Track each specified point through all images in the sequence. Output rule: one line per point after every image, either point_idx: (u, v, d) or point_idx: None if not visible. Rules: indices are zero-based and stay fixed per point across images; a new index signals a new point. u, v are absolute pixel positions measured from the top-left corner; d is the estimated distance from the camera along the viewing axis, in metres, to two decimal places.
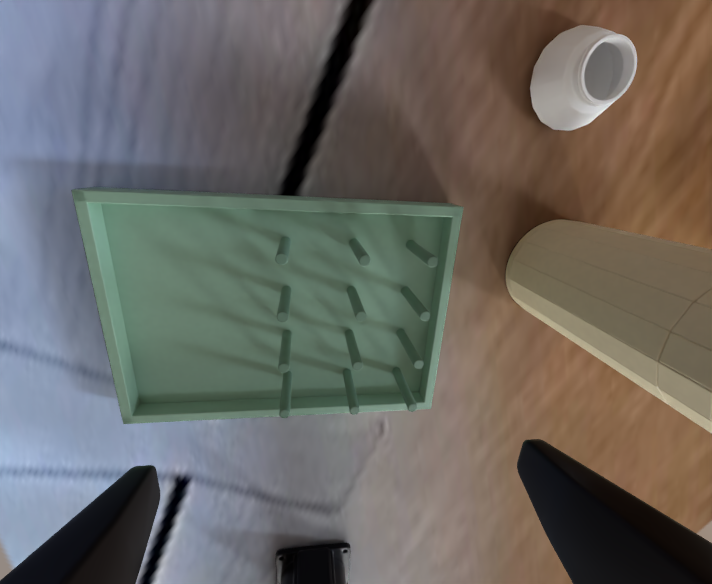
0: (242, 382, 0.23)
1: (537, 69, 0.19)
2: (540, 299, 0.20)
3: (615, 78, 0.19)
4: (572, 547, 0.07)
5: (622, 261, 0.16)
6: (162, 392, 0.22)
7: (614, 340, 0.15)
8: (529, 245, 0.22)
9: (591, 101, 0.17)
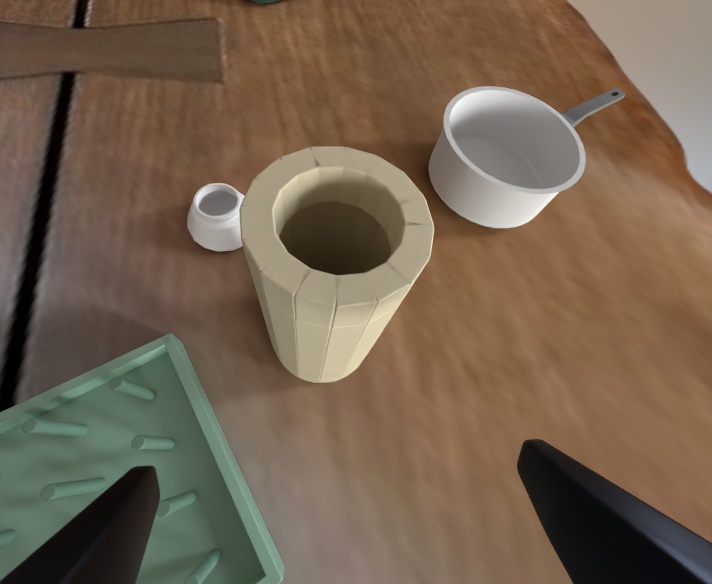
0: None
1: (188, 229, 0.24)
2: (282, 354, 0.19)
3: None
4: (572, 547, 0.07)
5: None
6: None
7: (273, 320, 0.14)
8: None
9: (218, 218, 0.23)
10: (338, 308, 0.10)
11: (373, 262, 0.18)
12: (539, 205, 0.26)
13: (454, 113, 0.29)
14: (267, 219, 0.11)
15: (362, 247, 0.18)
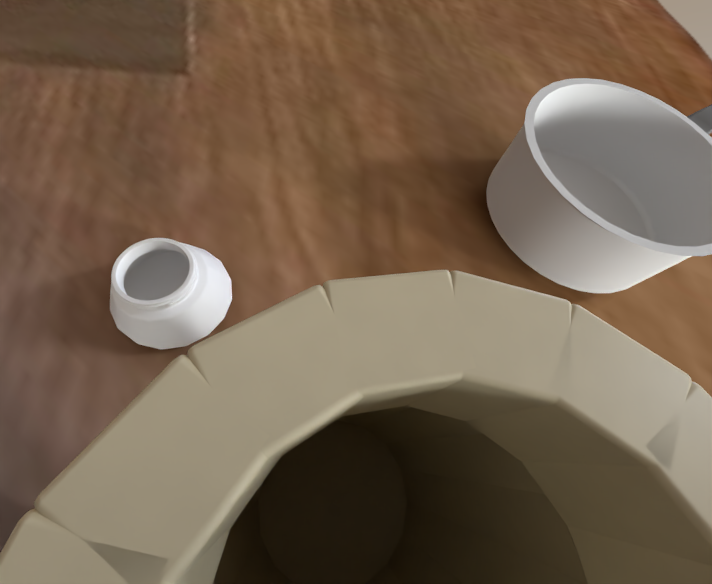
0: None
1: (111, 312, 0.15)
2: None
3: None
4: None
5: None
6: None
7: None
8: None
9: (154, 304, 0.13)
10: None
11: (453, 451, 0.08)
12: (673, 264, 0.17)
13: None
14: None
15: (431, 423, 0.08)
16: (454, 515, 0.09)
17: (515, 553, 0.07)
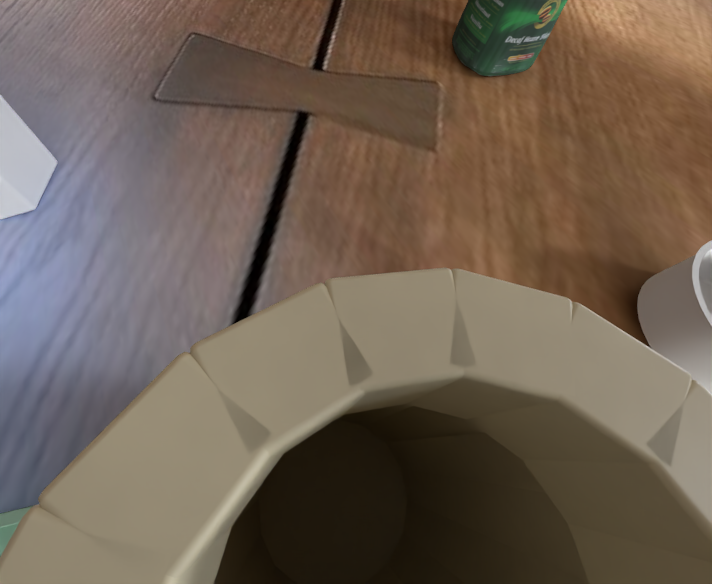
0: None
1: None
2: None
3: None
4: None
5: None
6: None
7: None
8: None
9: None
10: None
11: (453, 450, 0.08)
12: None
13: None
14: None
15: (432, 422, 0.08)
16: (454, 514, 0.09)
17: (516, 552, 0.07)
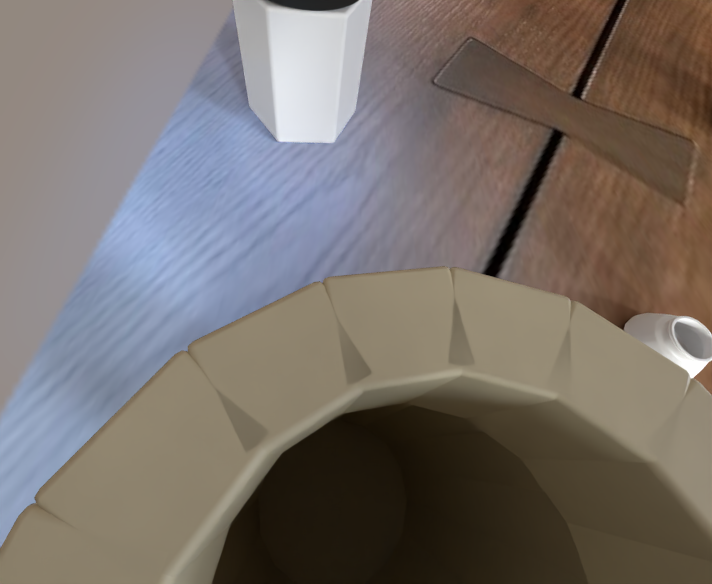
0: None
1: None
2: None
3: (691, 350, 0.24)
4: None
5: None
6: None
7: None
8: None
9: (691, 358, 0.21)
10: None
11: (453, 449, 0.08)
12: None
13: None
14: None
15: (431, 421, 0.08)
16: (454, 513, 0.09)
17: (515, 551, 0.07)
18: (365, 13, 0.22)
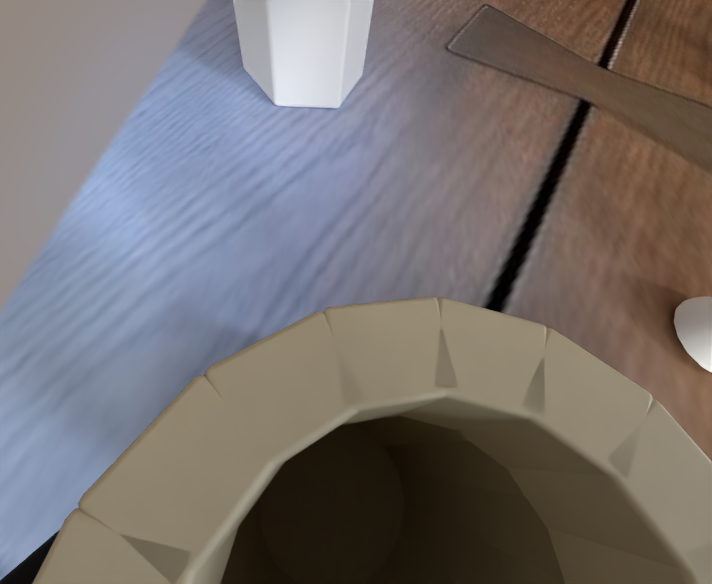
0: None
1: (680, 322, 0.20)
2: None
3: None
4: None
5: None
6: None
7: None
8: None
9: None
10: None
11: (447, 455, 0.09)
12: None
13: None
14: None
15: (426, 428, 0.08)
16: (448, 516, 0.10)
17: (503, 553, 0.07)
18: None
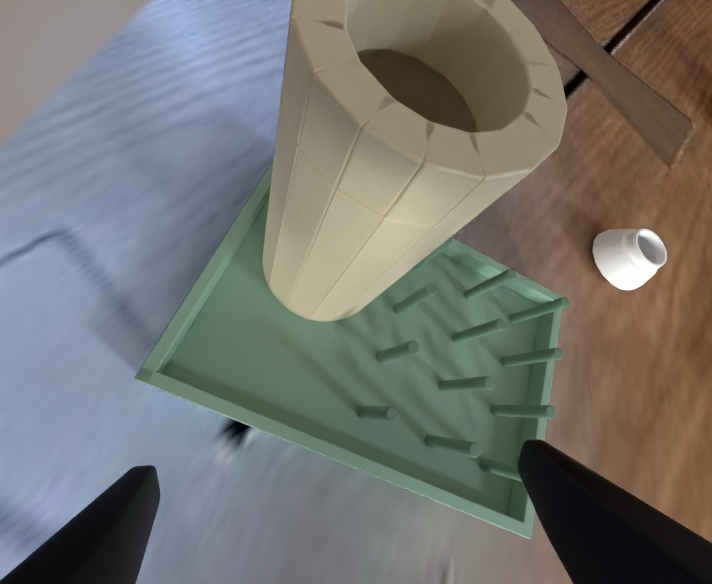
0: (304, 399, 0.17)
1: (597, 241, 0.27)
2: (277, 267, 0.14)
3: None
4: (572, 547, 0.07)
5: None
6: (202, 369, 0.16)
7: (291, 199, 0.10)
8: None
9: (645, 260, 0.24)
10: (425, 169, 0.06)
11: None
12: None
13: None
14: (337, 5, 0.07)
15: None
16: None
17: None
18: None
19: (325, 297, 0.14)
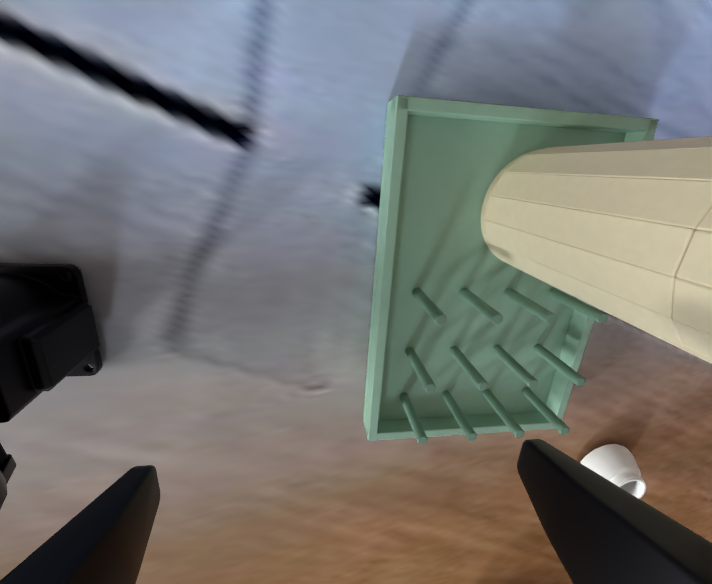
0: (413, 242, 0.19)
1: (617, 447, 0.28)
2: (538, 179, 0.15)
3: None
4: (572, 547, 0.07)
5: None
6: (413, 146, 0.18)
7: (650, 183, 0.10)
8: (552, 148, 0.17)
9: None
10: None
11: None
12: None
13: None
14: None
15: None
16: None
17: None
18: None
19: (524, 232, 0.15)
